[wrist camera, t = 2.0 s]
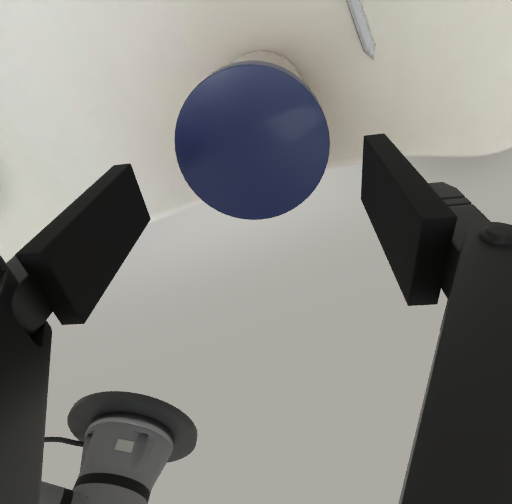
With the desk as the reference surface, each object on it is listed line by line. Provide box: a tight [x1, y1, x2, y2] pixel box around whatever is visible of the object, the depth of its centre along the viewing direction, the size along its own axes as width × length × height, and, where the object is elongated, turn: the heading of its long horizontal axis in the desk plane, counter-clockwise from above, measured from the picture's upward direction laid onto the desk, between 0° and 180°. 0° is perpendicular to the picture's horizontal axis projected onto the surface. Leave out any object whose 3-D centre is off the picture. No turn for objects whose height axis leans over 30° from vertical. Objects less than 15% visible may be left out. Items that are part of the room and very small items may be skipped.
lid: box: [175, 60, 330, 220], centre depth 19 cm, size 8×8×2 cm
